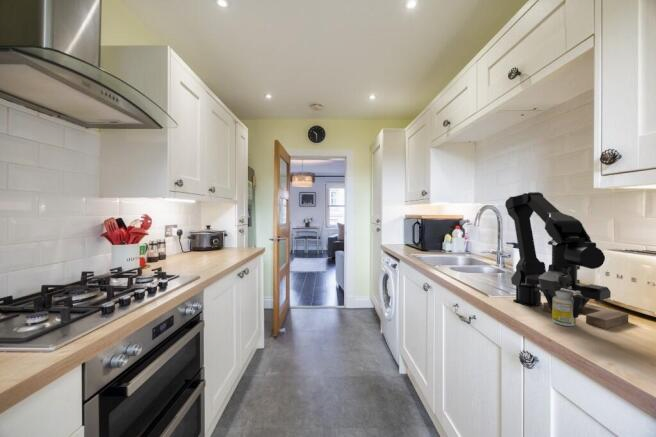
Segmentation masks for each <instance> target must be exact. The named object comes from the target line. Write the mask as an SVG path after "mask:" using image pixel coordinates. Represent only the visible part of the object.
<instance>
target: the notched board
mask: <svg viewBox="0 0 656 437" xmlns="http://www.w3.org/2000/svg"><path fill="white" fill-rule="evenodd" d="M542 305H543V307H542V309H543V310H542V311H544V312H547V313H550V314H552V311H551V309H550V307H549V305H548V302H547V301H546V302H542ZM580 314H582V315H585V323H586V324H587V325H590V326H591V325H592V326H594V327H598V328H601V329H604V330H607V329H611V328H613V327H614V328H615V327H618V326H620V325H623V324H626V323H629V313H627V312H622V311H618V310H614V309H611V308H606V307H603V306H597V305H594V304H591V303H590V304H589V303H586V305H585V306H584V308H583V309H582V311H581V312H580Z"/></svg>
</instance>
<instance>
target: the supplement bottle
mask: <svg viewBox="0 0 656 437" xmlns="http://www.w3.org/2000/svg"><path fill="white" fill-rule="evenodd" d="M555 294H556V295H557V296H554V297H553V299H552V313H551V316H552V317H551V320H552V322H553V323H554V324H557V325H561V326H565V327H575V326H576V323H577V318H574V317H573V307H574V300H573V298H572V295H574V291H573V290H568V289H563V288H561V290H559V291H555Z"/></svg>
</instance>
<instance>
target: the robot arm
mask: <svg viewBox="0 0 656 437" xmlns="http://www.w3.org/2000/svg"><path fill="white" fill-rule="evenodd" d="M504 205H505V208H506V211H507V214H508V216H509V217H510V218H511V219H512V220H513V222H514V227H515V228H514V229H515V235H516V241H517V242H516V243H517V247H518V255H519V260H518V261H517V264H515V265H516V266H515V270H516V271H515V272H514V273H513V275H512V276H511V278H510V281H511V284H512V285H513V286H514V287H515V299H513V300H512V301H513V302H515V303H519V304H521V305H525V306H529V307H535V306H539V305H543V302H542V294H543V295H544V297H545V299H546V302H548V305H549V307H550V309H551V311H552V299H553V297H554V296H557V295H556V294H555V291H559V290H561V289H565V290H570V291H572V292H576V294H573V295H572V298H573V300H574V307H573V317H574V318H576V319H577V318H578V317H579V316H580V314H581V313H580V312H581V311H582V309H583V308H584V306H585V305H586V304H588V302H589V301H590V300H595V301H602V300H607V299H610V298H611V290H610V289H609V287H608V286H603V285H598V284H591V283H589V284H586V285H581V282H580V279H578V270H581V267H583V268H585V269H591V270H595V269H599V268H601V267H602V266H603V264H604V263H605V261H606V256H605V254H604V252H603V251H602V250H601V249H600V248H598V247H597V243H596V242H592V239H591V237H590V235H589V234H588V233H587V230H586V229H585V227H584V226H583V223H582V222H581V221H580V220H579V219H578V218H575V217H574V216H572V215H570V214H569V215H568V214H566V213H563V212H561V211H560V210H558V208H557V207H555V206H554V205H553V204H552V203H551V202H550V201H549V200H548V199H546V198H545V197H544V195H543V193H542V192H539V191H536V192H535V191H532V192H531V191H527V192H524V193H522V194H519V195H514V196H509V197H508V198H507V199H506V201H505V204H504ZM534 213H536V215H537V216H538V217H539V218H540V219H541V220H542V221H543V222H544V225H545V226H544V230H545V231H546V233H547V234H548V236H549V237H550V238H551V239H550V240H548V241H547V245H550V246H551V264H549V265H548V267H547V268H548V269H547V270H546V264H545V262H544V261H540V259H538V257H537V252H536V246H535V240H534V234H533V230H532V224H531V223H532V222H531V217H532V215H533V214H534Z"/></svg>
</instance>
